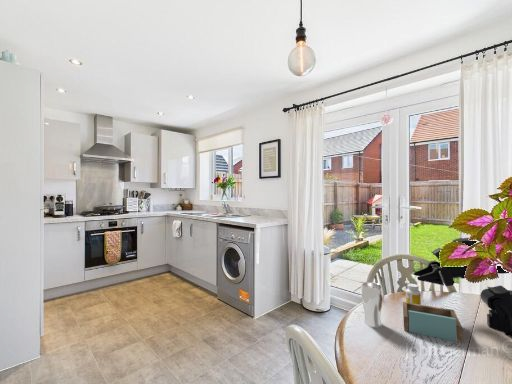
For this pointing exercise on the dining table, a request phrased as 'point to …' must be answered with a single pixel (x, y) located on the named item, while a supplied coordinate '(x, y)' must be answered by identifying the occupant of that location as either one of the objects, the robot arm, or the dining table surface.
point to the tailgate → (432, 325)
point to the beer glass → (372, 303)
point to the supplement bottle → (413, 294)
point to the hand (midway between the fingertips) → (415, 276)
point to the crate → (431, 311)
